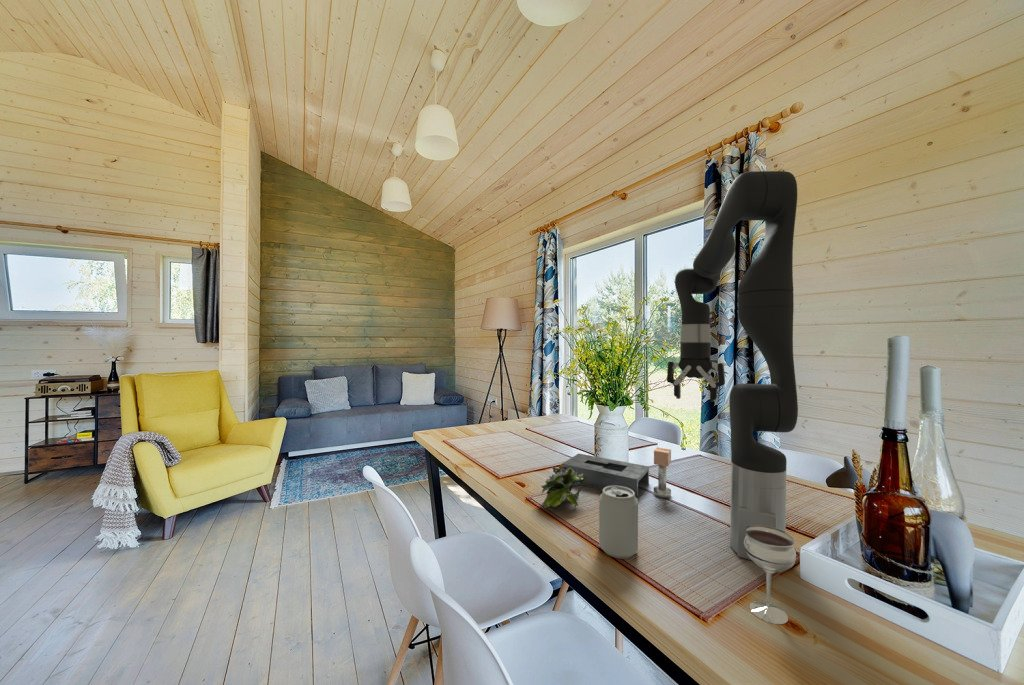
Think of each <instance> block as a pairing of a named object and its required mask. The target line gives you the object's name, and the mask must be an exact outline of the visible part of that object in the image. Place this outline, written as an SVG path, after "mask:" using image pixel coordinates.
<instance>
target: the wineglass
mask: <svg viewBox="0 0 1024 685" xmlns="http://www.w3.org/2000/svg"><path fill="white" fill-rule="evenodd" d="M744 531H745V533H746V537H745V539H744V548H745V551H746V553H747V555H748V556H749V557H750V559H751V560H750V561H752V562H753V564H755V565H756V566H758V567H759V568H760V569H762V570H763V571H764V572H765V586H766V591H765V592H766V601H760V600H756V601H755V600H754V601H752V602H751V603H750V604H749V609H750V611H751V612H752V613H753V615H755V616H756V617H757V618H759V619H761V620H762V621H764V622H767V623H770V624H775V625H783V624H786V623H787V622H788V621H789V617H788V615H787V613H786V612H785V611H784V610H782V609H781V608H780V607H779V606H777V605H774V604H773V603H771V594H772V593H771V591H772V578H773V575H774V574H775V573H783V572H785V571H788V570H790V569H791V568H792V567H794V565H795V564H796V558H797V553H796V549H795V546H796V544H797V540H796V539H795V538H794V537H793V536H792V535H791V534H789V533H787V532H786V531H785V532H784V531H781V530H779V529H776V528H773V527H769V526H763V525H750V526H747V527H745V529H744Z"/></svg>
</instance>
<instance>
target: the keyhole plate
mask: <svg viewBox="0 0 1024 685" xmlns="http://www.w3.org/2000/svg"><path fill="white" fill-rule="evenodd" d="M561 466H567V468H566V469H567V470H568V469H569V468H572V470H573V469H574V470H576V471H577V473H578V475H581V474H584V476H585V474H586V477H587V479H586V481H585V483H584V484H583V486H582V487H587V488H593V489H597V490H601V491H603V489H604V488H605V487H607V486H623V487H627V488H629V489H631V490H633V491H634V493H635V497H636V498H637V499H638V498H639V484H643V485H649V484H650V466H648V465H643V464H637V463H632V462H627V461H621V460H615V459H609V458H606V457H600V456H595V455H590V454H589V455H588V454H583V453H577V454H575V455H573V456H572V457H570V458H569V459H567V460H566V461H564V462H562V463H561ZM566 469H565V471H566ZM562 472H563V471H562ZM578 475H577V477H579V476H578ZM583 482H584V481H583ZM583 482H579V483H580V484H579V485H578V486H581V485H582V483H583Z"/></svg>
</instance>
